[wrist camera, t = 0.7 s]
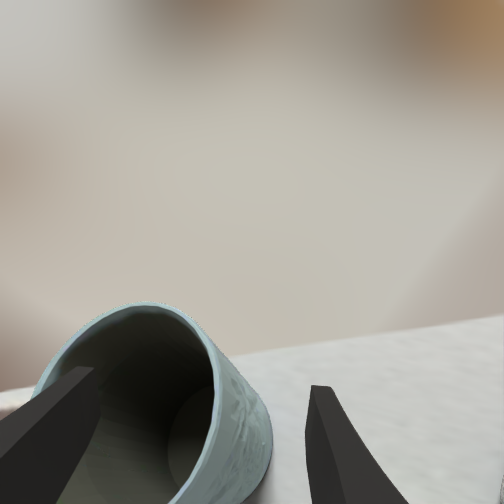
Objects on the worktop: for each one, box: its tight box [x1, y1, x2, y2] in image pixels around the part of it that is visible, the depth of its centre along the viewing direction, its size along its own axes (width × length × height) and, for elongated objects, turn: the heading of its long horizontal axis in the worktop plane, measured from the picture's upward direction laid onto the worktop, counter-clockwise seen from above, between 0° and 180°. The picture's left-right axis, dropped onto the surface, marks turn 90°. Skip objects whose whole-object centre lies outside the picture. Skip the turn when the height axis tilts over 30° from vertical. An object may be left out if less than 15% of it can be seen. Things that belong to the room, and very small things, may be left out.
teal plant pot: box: [31, 302, 272, 504], centre depth 21 cm, size 10×10×12 cm
